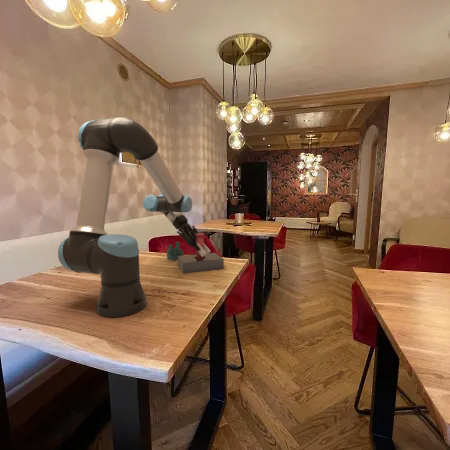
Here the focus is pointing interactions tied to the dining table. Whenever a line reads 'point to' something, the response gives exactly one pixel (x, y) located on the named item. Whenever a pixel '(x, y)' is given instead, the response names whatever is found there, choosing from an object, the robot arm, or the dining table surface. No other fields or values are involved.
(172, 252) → the green knobbed block
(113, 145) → the robot arm
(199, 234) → the pin
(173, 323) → the dining table surface
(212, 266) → the socket block
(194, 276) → the dining table surface
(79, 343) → the dining table surface
